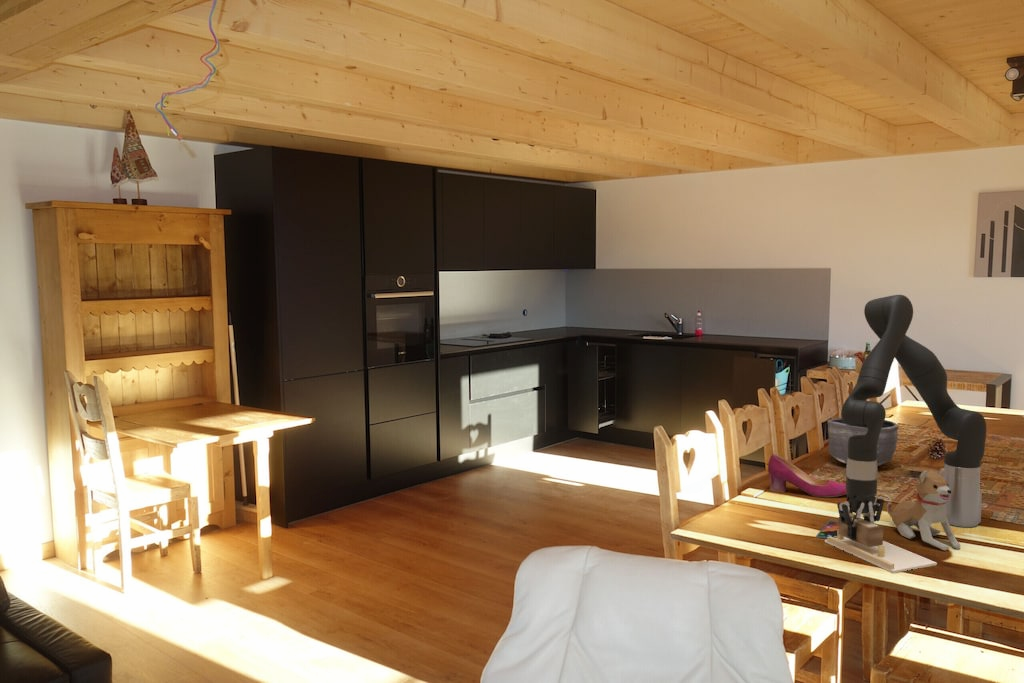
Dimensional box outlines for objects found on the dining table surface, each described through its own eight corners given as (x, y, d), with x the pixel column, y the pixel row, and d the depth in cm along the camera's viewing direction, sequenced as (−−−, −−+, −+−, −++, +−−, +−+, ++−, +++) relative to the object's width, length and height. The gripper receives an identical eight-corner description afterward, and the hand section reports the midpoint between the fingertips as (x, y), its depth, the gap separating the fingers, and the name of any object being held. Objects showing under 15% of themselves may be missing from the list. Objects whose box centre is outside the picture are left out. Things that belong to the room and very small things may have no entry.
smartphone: (815, 535, 224) (829, 520, 236) (815, 540, 224) (829, 524, 236) (846, 540, 219) (859, 523, 231) (846, 545, 219) (859, 528, 231)
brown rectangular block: (838, 533, 218) (838, 516, 218) (851, 531, 220) (852, 514, 219) (868, 547, 208) (869, 528, 207) (882, 544, 209) (883, 526, 209)
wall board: (865, 535, 225) (865, 524, 224) (936, 565, 202) (937, 553, 202) (824, 542, 220) (824, 530, 220) (893, 573, 197) (893, 561, 197)
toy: (937, 552, 211) (939, 478, 209) (872, 524, 233) (874, 457, 231) (968, 548, 213) (971, 474, 211) (901, 521, 236) (903, 454, 234)
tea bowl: (908, 462, 300) (906, 416, 299) (889, 475, 284) (887, 427, 283) (840, 457, 317) (837, 413, 316) (818, 469, 300) (816, 423, 299)
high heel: (851, 494, 264) (852, 457, 263) (848, 501, 256) (849, 463, 255) (771, 485, 276) (771, 450, 275) (765, 491, 269) (766, 455, 268)
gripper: (872, 469, 218) (870, 530, 220) (829, 474, 213) (828, 537, 215) (893, 476, 211) (891, 539, 213) (850, 481, 206) (848, 546, 208)
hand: (859, 538), depth 214 cm, fingers closed on brown rectangular block, 4 cm apart
